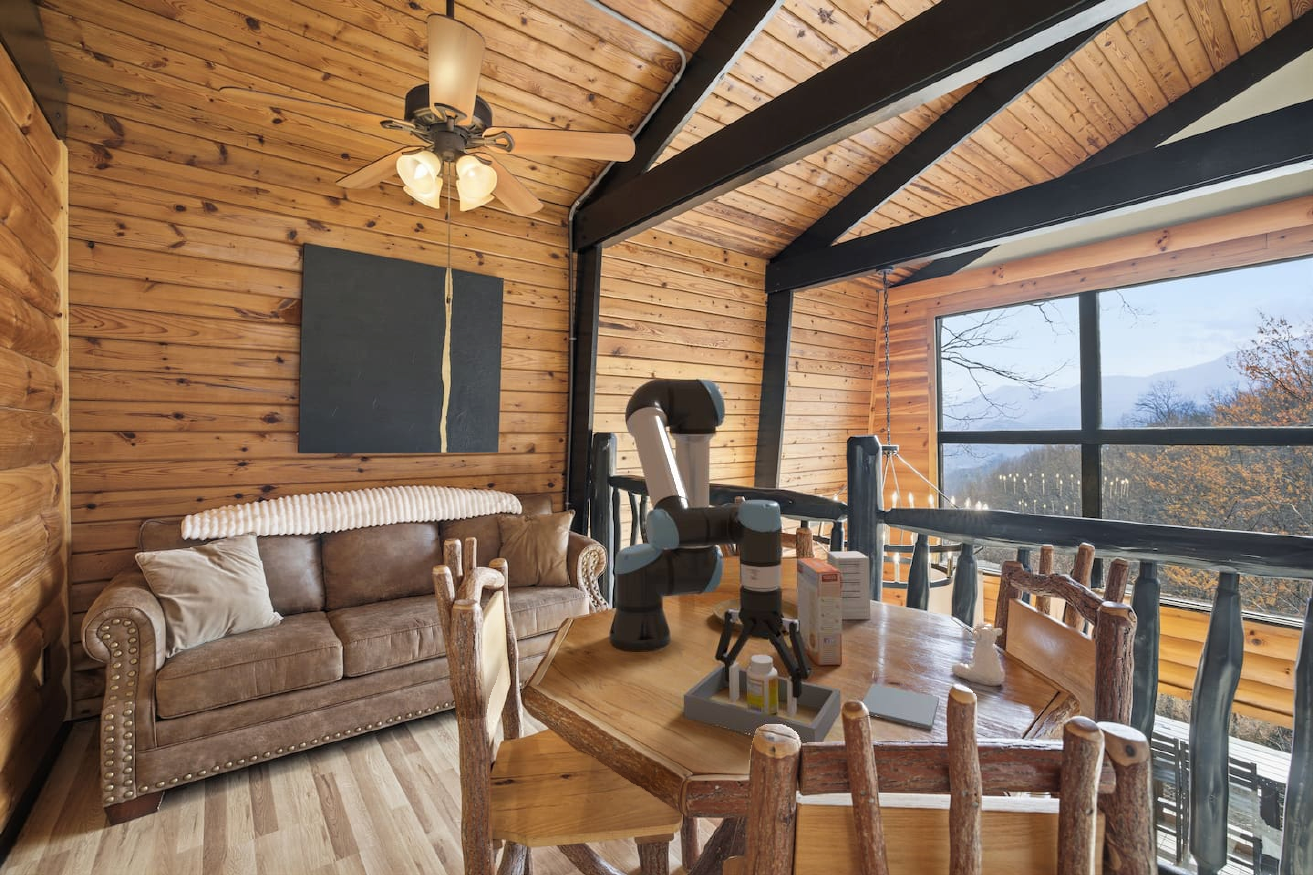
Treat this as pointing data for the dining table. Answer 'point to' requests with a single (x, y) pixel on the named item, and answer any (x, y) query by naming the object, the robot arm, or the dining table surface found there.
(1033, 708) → the dining table surface
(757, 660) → the supplement bottle
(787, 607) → the plant saucer
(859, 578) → the supplement box
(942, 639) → the dining table surface
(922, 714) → the mat
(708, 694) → the bin
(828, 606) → the cracker box
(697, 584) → the robot arm
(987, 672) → the white creature statuette
